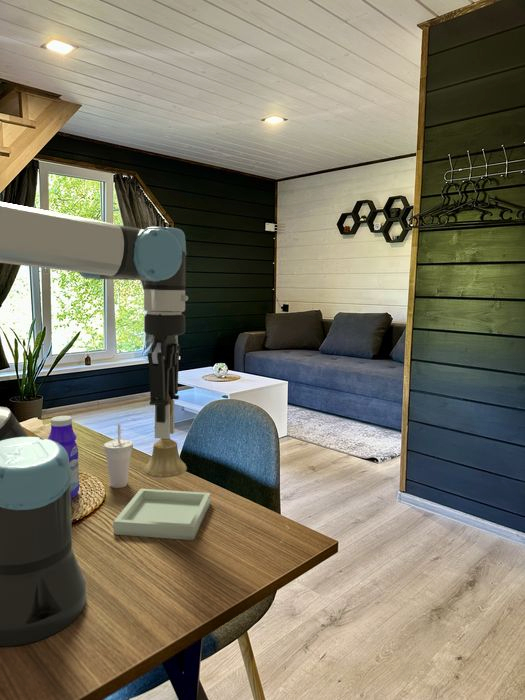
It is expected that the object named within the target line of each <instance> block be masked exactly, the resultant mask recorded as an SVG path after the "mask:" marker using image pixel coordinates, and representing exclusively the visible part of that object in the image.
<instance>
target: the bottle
mask: <svg viewBox="0 0 525 700" xmlns="http://www.w3.org/2000/svg"><path fill="white" fill-rule="evenodd" d="M72 420H73V419H72V416H70V415H58V416H54V417H51V419H50V432H49V435H48V437H47V439H50V440H53V441H55V442H57V443H59V444H60V445H62V446H63V447H64V448H65V450H66V451H67V453H68V457H69V464H70V467H71V481H70V487H71V500H73V499H74V498H75V497H76V496H77V495H78V494H79V490H80V471H79V470H80V469H79V468H80V467H79V446H78V444H77V442H76V440H77V435H76V433H75V431H74V429H73V421H72ZM73 497H74V498H73ZM72 498H73V499H72Z"/></svg>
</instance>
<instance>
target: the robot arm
mask: <svg viewBox="0 0 525 700" xmlns="http://www.w3.org/2000/svg"><path fill="white" fill-rule="evenodd" d="M184 232H185V231H183V230H182V229H180V228H177V227H167V226H149V227H146V228H144V229H143V228H139V227H134V226H133V227H132V226H129V225H128V226H127V225H120V224H116V223H112V222H106V221H102V220H96V219H93V218H88V217H87V218H86V217H80V216H77V215H70V214H65V213H60V212H55V211H51V210H44V209H39V208H34V207H29V206H24V205H18V204H13V203H8V202H3V201H0V264H7V265H8V264H10V265H17V266H26V267H32V268H33V267H35V268H41V269H42V268H43V269H51V270H57V271H58V270H59V271H67V272H74V273H75V272H77V273H78V274H79V276H81V277H82V278H84V279H91V280H93V279H94V280H98V281H99V280H118V281H119V280H121V281H125V280H126V281H143V285H144V286H143V310H144V311H145V312H146V314H145V315H144V316H143V318H144V321H143V325H144V326H143V328H144V329H143V331H144V333H145V334H146V335H149V336H153V344H152V345H151V351H149V352H147V359H148V360H147V361H148V366H149V367H148V368H149V369H148V371H149V390H150V391H149V394H150V395H149V396H150V397H149V398H150V401H149V405H150V406H154V439H169V438H170V439H171V435H174V434H175V400H179V398H180V395H178V394H179V393H178V392H179V390H178V389H179V388H178V385H179V366H180V365H179V361H180V359H179V358H180V350H181V346H180V344H178V343H177V340H176V336H181V335H184V334H185V333H186V316H185V314H183V313H182V312H185V311H186V302H187V301H188V300H189V296H188V295H186V279H187V278H186V275H187V273H186V268H187V267H186V266H187V262H186V261H187V255H188V254H187V246H186V245H187V244H186V235H185V233H184ZM168 392H169V395H170V398H171V403H172V410H171V415H170V404H168ZM170 434H171V435H170ZM70 481H71V467H70V464H69V457H68V453H67V451H66V450H65V448H64V447H63V446H62V445H60V444H59V443H57V442H55V441H53V440H50V439H48V438H46V439H45V438H44V439H43V438H42V437H41V436H40V437H39V436H30V435H28V433H27V432H26V430H25V428H23V426H22V424H20V422H19V421H18V420H17V417H16V416H15V414H14V413H13V412H12V411H11V410H10V408H8V407H7V406H5V407H4V406H0V647H12V646H13V647H14V646H21V645H25V644H26V645H27V644H31V643H33V642H37V641H40V640H43V639H45V638H48V637H51V636H52V635H55V634H56V633H58V632H60V631H61V630H63V629H65V628H67V627H68V626H69V625H70V624H71V623H73V622H74V621H75V620H76V619H77V618H78V617H79V616H80V614H81V613H82V612H83V610H84V608H85V607H86V602H87V584H86V580H85V577H84V575H83V573H82V570H81V568H80V565H79V563H78V560H77V558H76V555H75V553H74V551H73V546H72V545H73V540H72V535H73V534H72V499H71V487H70Z"/></svg>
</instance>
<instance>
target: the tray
mask: <svg viewBox="0 0 525 700" xmlns="http://www.w3.org/2000/svg"><path fill="white" fill-rule="evenodd" d="M210 506H211V493H210V492H204V491H203V492H200V491H199V492H198V491H187V490H186V491H184V490H183V491H182V490H173V489H172V490H169V489H154V488H153V489H152V488H140V489H139V490H138V491H137V492H136V494H135V495H134V496H133V497H132V498H131V500H130V501H129V502H128V503H127V505H125V507H124V508H123V509H122V510H121V511H120V513H119V514H118V515H117V516H116V518H115V519H114V520H113V535H118V536H119V535H120V536H130V537H133V536H134V537H146V538H156V539H157V538H159V539H160V538H161V539H172V540H173V539H174V540H184V541H185V540H187V541H195V539H196V537H197V534H198V533H199V530H200V528H201V525H202V523H203V521H204V519H205V517H206V515H207V512H208V510H209V508H210Z"/></svg>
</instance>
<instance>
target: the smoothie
mask: <svg viewBox="0 0 525 700" xmlns="http://www.w3.org/2000/svg"><path fill="white" fill-rule="evenodd" d="M121 438H122V436H121V423H118V424H117V439H112V440H109V441H106V442H104V443H103V451H104V452H105V457H106V463H107V471H108V477H109V478H108V479H109V484H110V487H111V488H114V489H120V488H125V487H126V486H127V485H128V482H129V481H128V480H129V473H130V465H131V457H132V449H133V448H134V446H133V445H134V444H133V441H131V440H129V439H121Z"/></svg>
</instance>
